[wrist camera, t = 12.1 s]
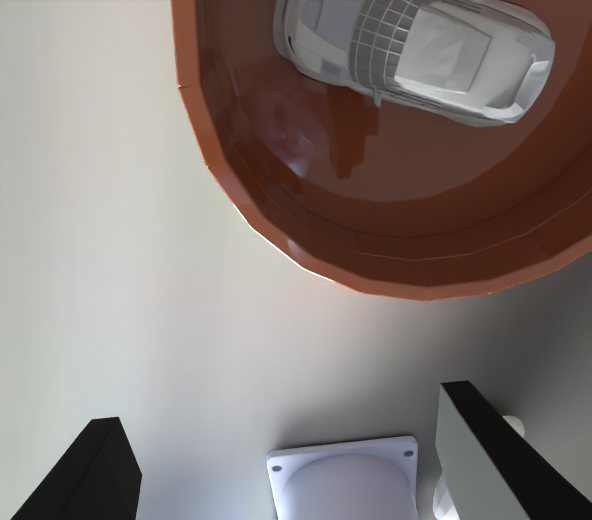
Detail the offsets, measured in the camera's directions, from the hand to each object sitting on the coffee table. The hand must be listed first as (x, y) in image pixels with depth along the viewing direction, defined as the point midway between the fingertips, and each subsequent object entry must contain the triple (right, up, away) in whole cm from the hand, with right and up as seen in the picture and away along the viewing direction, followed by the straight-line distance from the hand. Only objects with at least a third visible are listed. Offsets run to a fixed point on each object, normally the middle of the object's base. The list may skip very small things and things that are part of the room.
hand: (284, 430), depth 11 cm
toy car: (+3, +11, +4) cm, 12 cm away
